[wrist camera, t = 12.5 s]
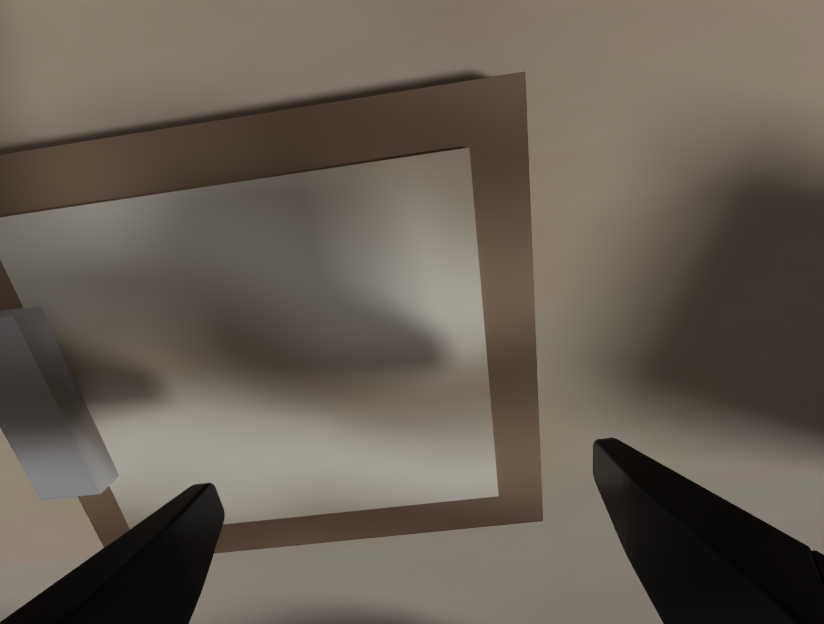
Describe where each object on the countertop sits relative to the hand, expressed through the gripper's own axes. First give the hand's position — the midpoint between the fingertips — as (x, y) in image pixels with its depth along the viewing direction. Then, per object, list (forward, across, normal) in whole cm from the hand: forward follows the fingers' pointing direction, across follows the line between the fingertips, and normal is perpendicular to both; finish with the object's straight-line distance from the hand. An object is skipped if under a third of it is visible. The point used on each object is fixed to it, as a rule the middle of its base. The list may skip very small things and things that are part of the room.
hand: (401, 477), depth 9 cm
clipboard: (+5, +4, -1) cm, 6 cm away
